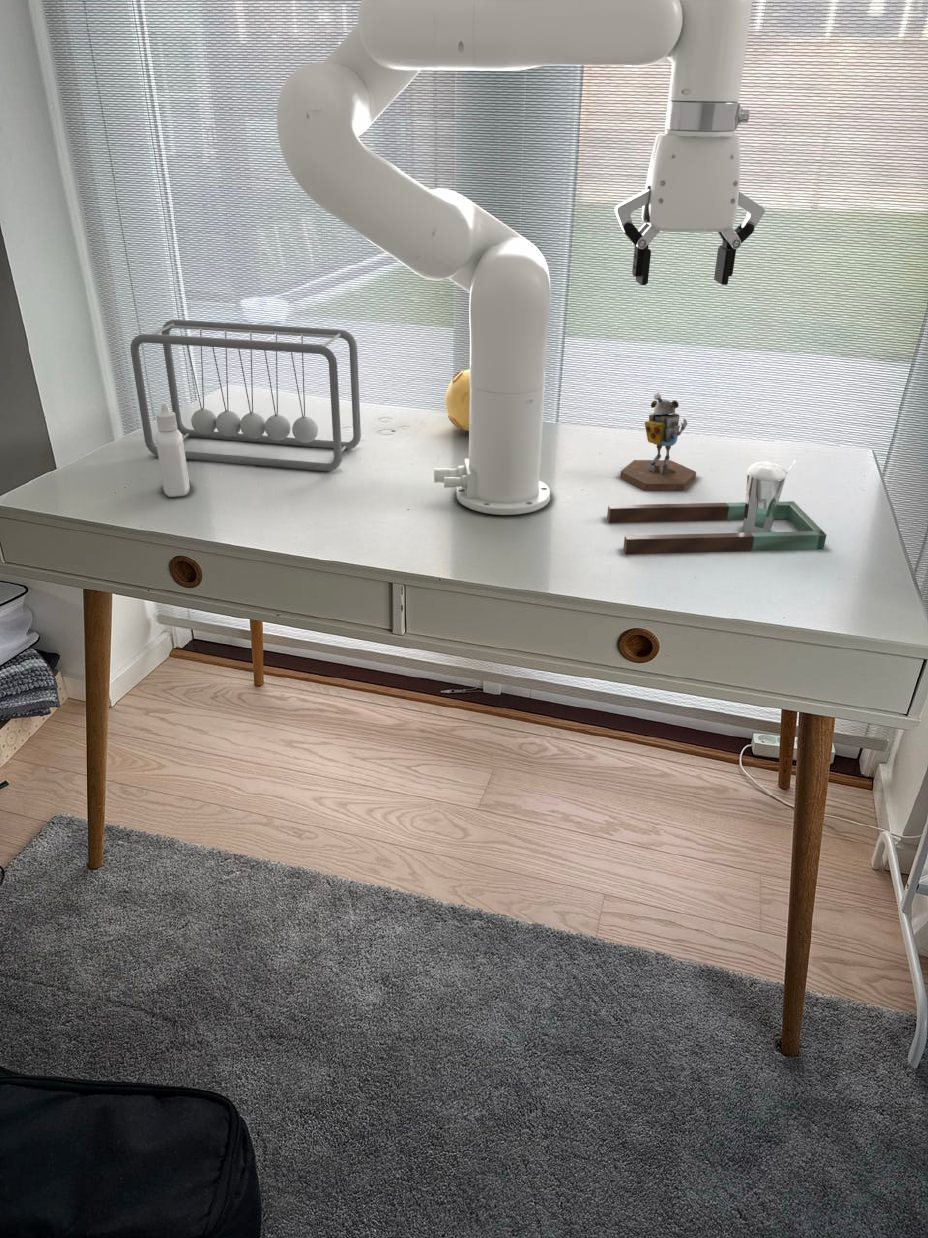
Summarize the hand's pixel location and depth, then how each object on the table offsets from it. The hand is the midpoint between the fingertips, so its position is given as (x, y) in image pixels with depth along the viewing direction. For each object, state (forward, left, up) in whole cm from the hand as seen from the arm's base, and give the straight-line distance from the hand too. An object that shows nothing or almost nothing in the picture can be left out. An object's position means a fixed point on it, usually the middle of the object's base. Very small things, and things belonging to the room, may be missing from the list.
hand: (681, 282), depth 113 cm
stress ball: (-21, +31, -28) cm, 47 cm away
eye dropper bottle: (-64, +8, -28) cm, 71 cm away
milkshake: (+11, -10, -28) cm, 32 cm away
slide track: (+5, -10, -28) cm, 30 cm away
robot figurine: (+3, +9, -28) cm, 30 cm away
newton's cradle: (-55, +22, -28) cm, 66 cm away
